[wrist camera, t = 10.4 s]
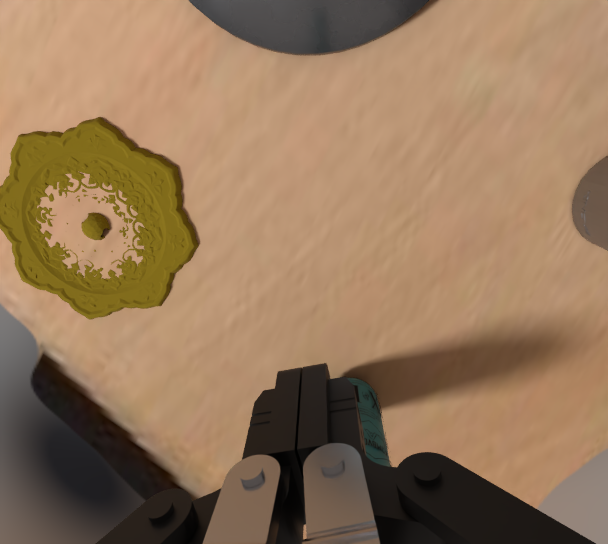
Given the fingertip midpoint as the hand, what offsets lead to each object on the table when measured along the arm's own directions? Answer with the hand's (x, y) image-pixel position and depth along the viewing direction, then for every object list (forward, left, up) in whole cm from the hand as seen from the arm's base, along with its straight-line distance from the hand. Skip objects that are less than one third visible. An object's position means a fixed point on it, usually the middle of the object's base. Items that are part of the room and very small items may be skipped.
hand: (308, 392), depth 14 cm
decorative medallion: (+22, -2, -32) cm, 39 cm away
